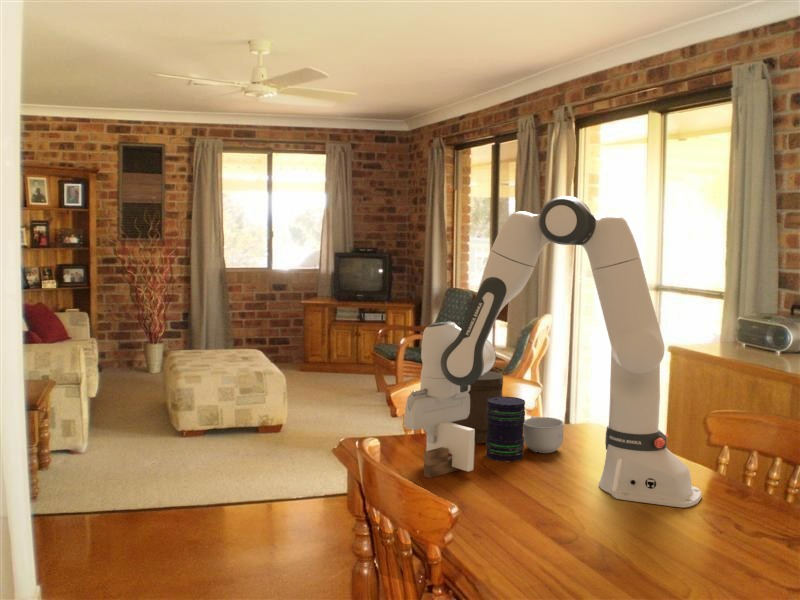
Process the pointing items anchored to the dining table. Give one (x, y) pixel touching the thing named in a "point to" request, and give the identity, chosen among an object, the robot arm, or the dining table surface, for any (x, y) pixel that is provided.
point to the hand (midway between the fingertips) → (436, 441)
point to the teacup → (543, 434)
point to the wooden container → (482, 403)
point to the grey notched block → (438, 462)
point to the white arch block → (455, 443)
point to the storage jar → (505, 428)
